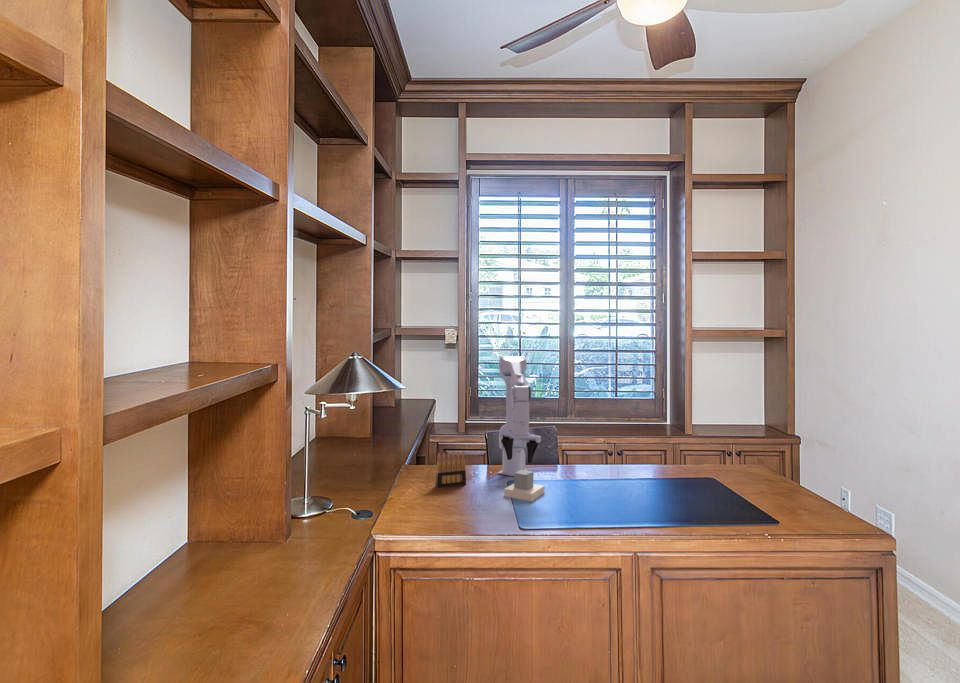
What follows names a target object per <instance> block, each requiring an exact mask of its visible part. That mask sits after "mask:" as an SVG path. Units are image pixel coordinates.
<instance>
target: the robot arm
mask: <svg viewBox="0 0 960 683" xmlns="http://www.w3.org/2000/svg"><path fill="white" fill-rule="evenodd" d="M498 365H499V366H498V367H499V370H498V371H499V378H500V379H502V380H503V381H504V383H505V402H506V403H505V405H506V406H505V408H506V410H505V413H506V415H505V417H506V423H505V424H503V425H502V426H501V427H500V429H499V430H498V431H499V432H498V433H499V434H498V447H499V448H500V449H501V450H502V466H501V467H502V469H501V470H500V471H498V472H497V474H498V475H505V476H511V477H514V473H515V472H517V471H519V470H526V471H528V469H526V452H525V450H524V449H525V448H527V463H528V464H531V463H533V460H534V456H535V454H536V453H535V452H536V450H537V448H538V446H539V444H540V443H541V442H542V436H541V435H536V434H533V433H530V403H531V401H532V388H531V384H528V382H527V378H526V376H525V375H526V371H527V358H526V356H525V355H523V356H521V355H520V356H512V355H510V356H506V355H505V356H504V355H500V357H499V361H498Z"/></svg>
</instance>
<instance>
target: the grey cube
mask: <svg viewBox="0 0 960 683" xmlns="http://www.w3.org/2000/svg"><path fill="white" fill-rule="evenodd" d="M526 470H527V469H526ZM526 470H519V471H517V472H515V473H514V476H513V483H514V488H517V489H523V490H528V489H530V488H532V487H533V484H534V474H535V473H534V471H531V470H527V471H526Z"/></svg>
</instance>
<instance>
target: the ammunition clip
mask: <svg viewBox="0 0 960 683" xmlns="http://www.w3.org/2000/svg"><path fill="white" fill-rule="evenodd" d="M436 457H437V459H436V460H437V462H436V472H435V486H434V487H436V488H438V489H441V488H448V487H457V486H466V485H467V475H466V474H467V473H466V472H467V471H466V459H465V457H466V455H465V451H464V450H462V452H461V455H460V451H459V450H458V451H457V452H456V454H455V451H452V453H450V451H448V452H447V456H446V453H445V452H444V451H443V453H442V457H441V453H440V452H438V453H437V456H436Z"/></svg>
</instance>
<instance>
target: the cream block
mask: <svg viewBox="0 0 960 683" xmlns="http://www.w3.org/2000/svg"><path fill="white" fill-rule="evenodd" d="M545 487H546V486H545V485H543V484H536V483H533V487H532V488H530V489H528V490H523V489H517V488H514V482H513V483H512V484H510V485H508V486H507V487H505V488H504V489H503V492H504V493H503V496H504V497H506V498H507V497H508V498H512V499H516V500H523V501H527V502H533V501H535V500H536V499H538V498H539V497H541V496H543V494H545Z"/></svg>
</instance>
